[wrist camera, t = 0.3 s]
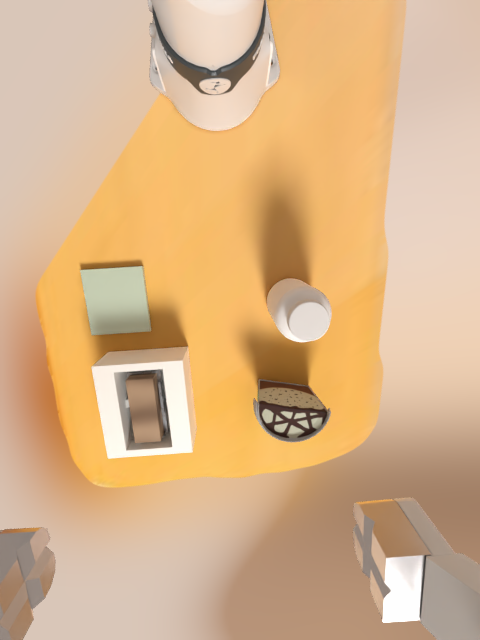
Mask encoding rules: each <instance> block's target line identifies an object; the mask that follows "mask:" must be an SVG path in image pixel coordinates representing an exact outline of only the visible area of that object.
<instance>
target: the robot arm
mask: <svg viewBox="0 0 480 640" xmlns="http://www.w3.org/2000/svg"><path fill="white" fill-rule="evenodd" d="M148 6H149V10H150V11H151V12H152V13H153V23H150V36H151V37H152V43H151V59H150V81H151V84H152V86H153V87H154V88H155V89H156V90H157V91H159V92H160V93H162V94H163V95H165V96H166V97H168V98H169V99H170V100H171V101H172V103H173V104H174V106H175V107H176V108H177V110H178V111H179V112H180V114H181V115H182V116H183V117H184V118H185V119H187V120H188V121H189V122H191V123H192V124H194V125H196V126H198V127H200V128H203V129H206V130H212V131H221V130H227V129H230V128H233V127H235V126H237V125H239V124H241V123H242V122H243V121H245V120H246V119H247V118H248V117H249V116H250V115H251V114H252V112H253V111H254V110H255V108H256V107H257V105H258V103H259V101H260V99H261V97H262V95H263V94H264V93H265V92H266V91H267V90H268V89H269V88H271V87H272V86H273V85H274V84H275V83H276V82H277V80H278V79H279V76H280V67H279V62H278V57H277V52H276V47H275V42H274V37H273V32H272V27H271V22H270V17H269V12H268V7H267V2H266V0H148ZM271 62H272V65H271ZM156 70H158V71H156ZM353 514H354V517H355V519H356V522H357V525H356V526H355V527H354V528H353V541H354V546H355V552H356V556H357V559H358V562H359V565H360V567H361V570H362V572H363V573H364V574H365V575H367V576H368V577H369V578H370V592H371V594H372V597H373V599H374V601H375V604H376V606H377V609H378V611H379V613H380V616H381V618H382V620H383V622H394V621H414V620H421V624H422V625H423V626H424V627H425V628H427V630H428V631H429V632H430V633H431V634H432V635H433V636H434V637H435V638H436V639H437V640H480V564H478V563H476V562H475V561H473V560H472V559H470V558H469V557H467V556H465V555H464V554H462V553H457V554H456V553H455V552H454V551H453V550H452V548H451V547H450V545H449V544H448V543H447V541H446V540H445V539H444V537H443V536H442V535H441V533H440V532H439V531H438V529H437V528H436V527H435V525H434V524H433V523H432V521H431V520H430V519H429V517H428V516H427V515H426V513H425V512H424V511H423V509H422V508H421V507H420V505H419V504H418V503H417V501H416V500H415V499H413V498H412V497H408V498H397V499H392V500H391V499H387V500H376V501H365V502H355V504H354V512H353ZM49 540H50V537H49V533H48V530H47V529H46V528H23V529H5V530H0V640H23V638H24V636H25V635H26V633H27V631H28V629H29V627H30V625H31V623H32V621H33V619H34V618H33V608H35V607H36V606H37V605H38V604H39V603H40V602H41V601H42V600H43V599H44V598H45V597H46V595H47V593H48V591H49V589H50V587H51V584H52V580H53V577H54V573H55V557H54V553H53V552H52V551H51V550H49V549H48V548H47V547H46V545H47V544H48V542H49Z"/></svg>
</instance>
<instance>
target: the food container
mask: <svg viewBox="0 0 480 640" xmlns="http://www.w3.org/2000/svg"><path fill="white" fill-rule="evenodd" d="M253 405H254V412H255V415H256V418H257V420H258V422H259V423H260V425H261V426H262V428H263V429H264V430H265V431H266V432H267V433H268V434H270V435H271V436H272V437H274V438H276V439H279V440H281V441H286V442H300V441H304V440H307V439H309V438H311V437H313V436H315V435H316V434H318V433H319V432H320V431H321V430H322V429H323V428H324V426H325V425H326V424H327V422H328V420H329V417H330V413H331V411H330V408H329V409H328V410H327V409H326V407H325V406H324V405H323V404H322V402H321V401H320V400H319V398H318V397H317V396H316V394H315V393H314V392H313V391H312V389H311V388H310V387H309V386H308V385H300V384H293V383H285V382H278V381H270V380H263V379H259V381H258V403H257V401H256V400H255V398H254V402H253Z"/></svg>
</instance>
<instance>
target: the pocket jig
mask: <svg viewBox="0 0 480 640" xmlns="http://www.w3.org/2000/svg"><path fill="white" fill-rule="evenodd" d="M158 369H161V374H162V382H163V390H164V398H165V399H166V401H165V406H166V414H167V421H168V429H169V433H168V434H166V435H165V437H163V438H162V440H161V441H158V442H144V443H135V439H134V433H133V426H132V420H131V413H130V407H129V400H128V394H127V388H126V379H127V378H128V376H127V372H129V371H143V370H158ZM92 373H93V378H94V384H95V389H96V395H97V400H98V406H99V412H100V417H101V423H102V428H103V434H104V439H105V445H106V450H107V456H108V458H121V457H134V456H148V455H161V454H175V453H188V452H193V447H194V441H195V436H196V430H197V426H196V416H195V407H194V397H193V387H192V378H191V368H190V358H189V349H188V346H187V347H172V348H158V349H143V350H129V351H114V352H108V353H107V354H105V355H104V356H103V357H102V358H101V359H100V360H99V361H97V362H96V363H95V364H94V365H93V366H92Z"/></svg>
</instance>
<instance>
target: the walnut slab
mask: <svg viewBox="0 0 480 640" xmlns="http://www.w3.org/2000/svg"><path fill="white" fill-rule="evenodd" d="M126 388H127V394H128V400H129V407H130V413H131V420H132V426H133V433H134V439H135V443H144V442H158V441H161V440H162V437H163V434H164V425H163V417H162V410H161V403H160V395H159V387H158V379H157V373H149V374H135V375H129V377H128V378H127V379H126Z"/></svg>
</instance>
